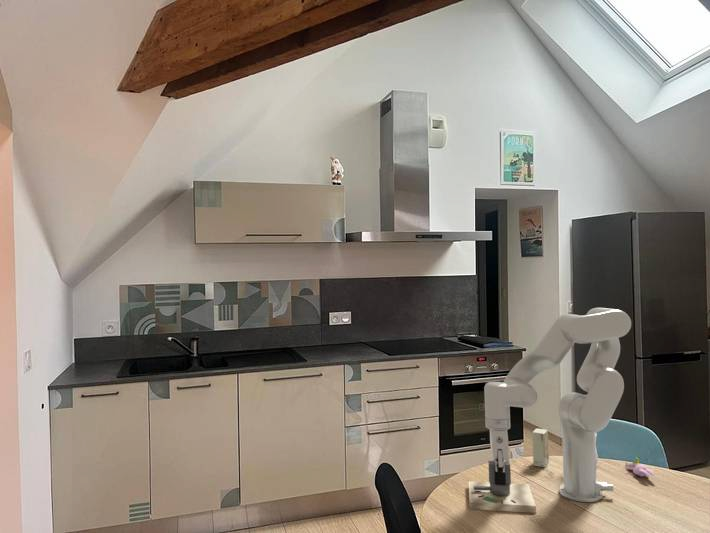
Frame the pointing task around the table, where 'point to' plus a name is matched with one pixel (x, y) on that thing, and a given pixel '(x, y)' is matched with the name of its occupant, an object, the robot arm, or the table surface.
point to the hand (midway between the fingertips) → (499, 480)
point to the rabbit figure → (639, 468)
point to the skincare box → (540, 447)
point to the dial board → (502, 498)
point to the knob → (493, 488)
